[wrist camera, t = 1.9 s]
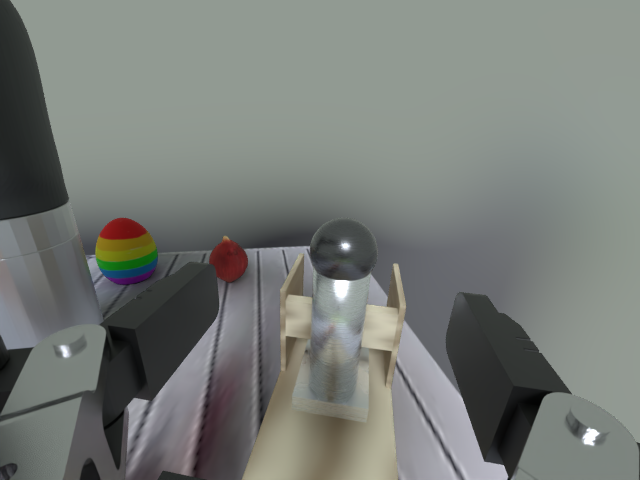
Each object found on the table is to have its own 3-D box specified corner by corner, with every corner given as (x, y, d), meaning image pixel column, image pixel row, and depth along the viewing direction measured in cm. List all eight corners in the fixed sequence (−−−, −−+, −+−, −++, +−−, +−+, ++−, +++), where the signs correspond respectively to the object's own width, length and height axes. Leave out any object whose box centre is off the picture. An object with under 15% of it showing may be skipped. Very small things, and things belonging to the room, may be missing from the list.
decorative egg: (98, 294, 43) (80, 230, 40) (106, 269, 50) (92, 213, 46) (160, 283, 47) (149, 224, 43) (160, 261, 54) (151, 208, 50)
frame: (169, 707, 14) (117, 596, 9) (298, 330, 38) (299, 253, 34) (415, 787, 12) (483, 699, 8) (384, 343, 36) (397, 264, 32)
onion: (251, 273, 51) (249, 230, 48) (244, 291, 46) (241, 244, 43) (217, 272, 51) (213, 229, 48) (206, 290, 45) (201, 243, 42)
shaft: (290, 412, 24) (292, 226, 18) (317, 313, 36) (324, 183, 30) (366, 426, 23) (395, 236, 17) (367, 320, 35) (384, 188, 29)
